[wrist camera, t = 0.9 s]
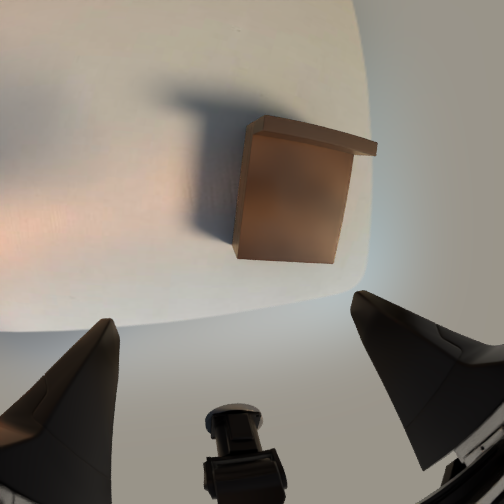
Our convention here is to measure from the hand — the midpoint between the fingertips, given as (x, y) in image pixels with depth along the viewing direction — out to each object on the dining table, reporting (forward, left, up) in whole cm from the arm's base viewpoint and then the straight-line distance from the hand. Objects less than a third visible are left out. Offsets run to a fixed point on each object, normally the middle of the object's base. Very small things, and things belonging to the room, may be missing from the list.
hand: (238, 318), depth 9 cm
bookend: (+3, -6, -14) cm, 15 cm away
